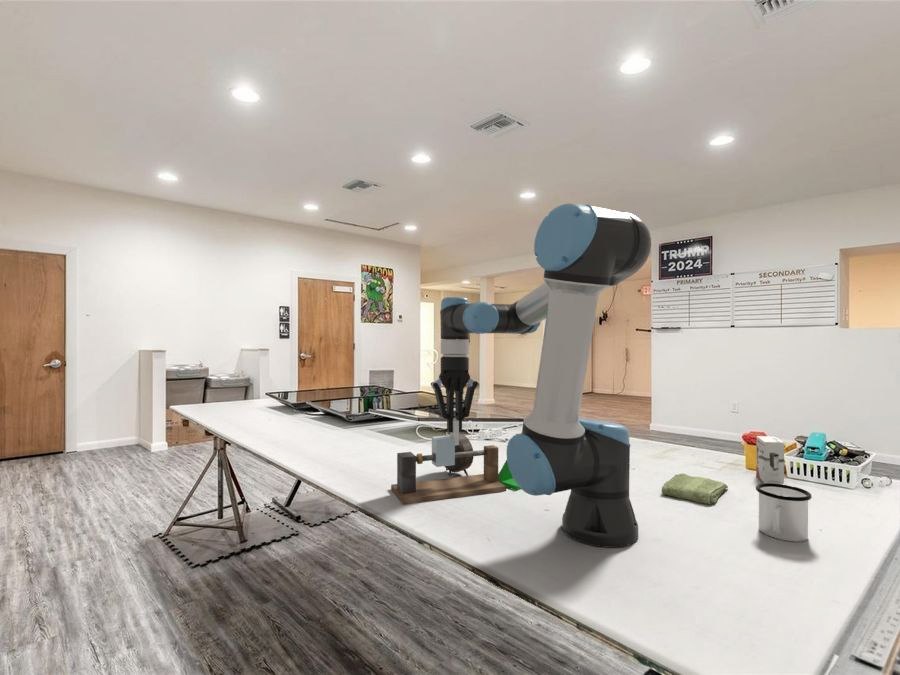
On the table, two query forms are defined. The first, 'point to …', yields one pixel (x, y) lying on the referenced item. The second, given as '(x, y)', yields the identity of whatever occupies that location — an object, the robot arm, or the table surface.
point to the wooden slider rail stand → (445, 487)
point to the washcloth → (694, 488)
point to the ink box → (770, 459)
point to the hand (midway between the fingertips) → (454, 444)
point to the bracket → (507, 477)
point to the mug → (783, 511)
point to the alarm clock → (461, 462)
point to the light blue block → (443, 450)
